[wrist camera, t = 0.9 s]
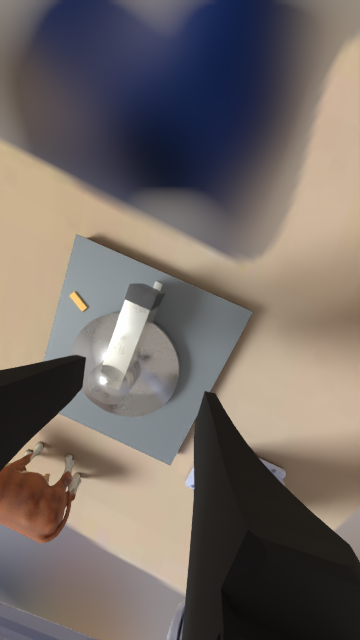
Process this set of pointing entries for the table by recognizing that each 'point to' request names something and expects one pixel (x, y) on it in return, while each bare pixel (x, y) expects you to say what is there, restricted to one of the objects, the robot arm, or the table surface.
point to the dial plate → (173, 315)
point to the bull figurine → (36, 498)
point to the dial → (129, 357)
